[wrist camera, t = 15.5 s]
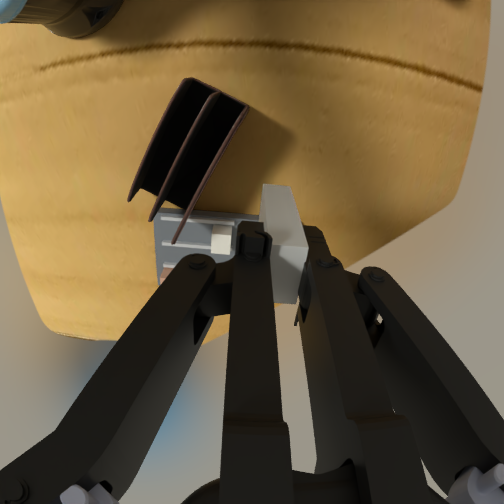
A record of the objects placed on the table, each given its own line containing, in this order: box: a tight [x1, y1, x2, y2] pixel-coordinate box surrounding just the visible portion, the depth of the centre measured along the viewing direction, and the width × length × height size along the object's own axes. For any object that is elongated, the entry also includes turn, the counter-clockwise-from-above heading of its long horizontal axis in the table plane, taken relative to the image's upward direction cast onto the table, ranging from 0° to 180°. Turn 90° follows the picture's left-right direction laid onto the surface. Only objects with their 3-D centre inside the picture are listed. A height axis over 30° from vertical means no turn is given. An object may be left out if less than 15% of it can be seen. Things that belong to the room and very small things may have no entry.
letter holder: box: [127, 77, 250, 245], centre depth 42 cm, size 10×20×14 cm, turn 150°
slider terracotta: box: [160, 267, 173, 284], centre depth 56 cm, size 3×4×3 cm
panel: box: [154, 208, 259, 285], centre depth 55 cm, size 24×15×4 cm, turn 84°
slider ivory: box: [211, 225, 232, 255], centre depth 52 cm, size 3×4×3 cm
